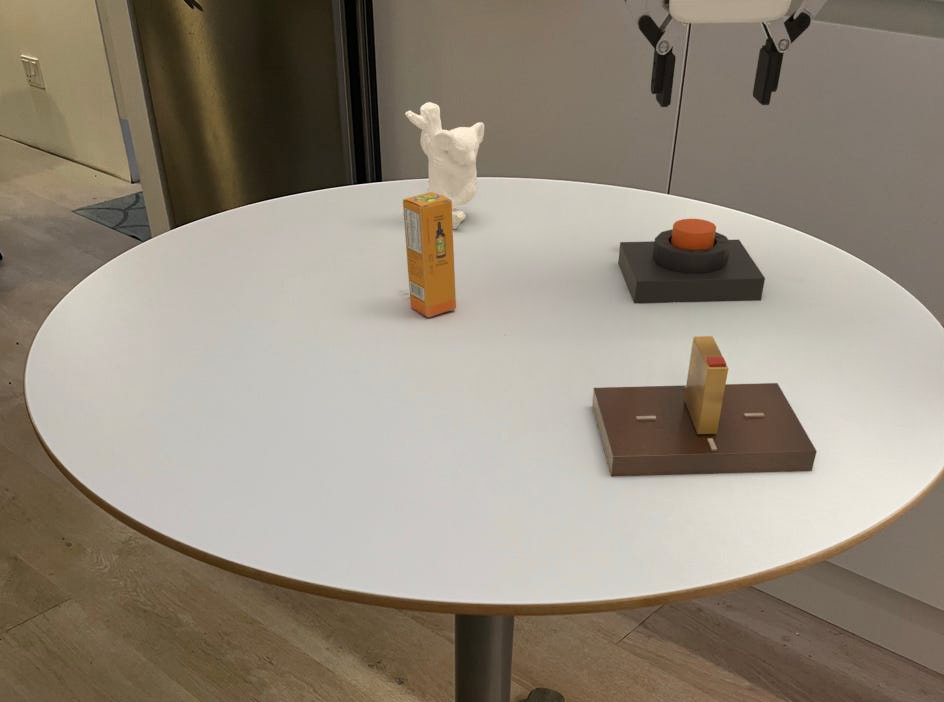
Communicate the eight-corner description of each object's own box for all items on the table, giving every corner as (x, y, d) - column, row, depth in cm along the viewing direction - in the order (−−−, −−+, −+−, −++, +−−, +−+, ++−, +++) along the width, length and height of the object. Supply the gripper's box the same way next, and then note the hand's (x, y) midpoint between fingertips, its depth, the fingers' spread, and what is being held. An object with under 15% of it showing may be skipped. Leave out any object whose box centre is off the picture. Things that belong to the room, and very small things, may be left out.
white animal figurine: (413, 236, 109) (408, 114, 101) (405, 215, 114) (400, 97, 106) (490, 230, 110) (491, 109, 102) (479, 209, 115) (479, 92, 107)
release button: (708, 236, 98) (711, 217, 97) (717, 251, 95) (720, 232, 94) (667, 237, 98) (669, 218, 97) (675, 252, 95) (677, 233, 94)
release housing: (735, 261, 103) (742, 220, 100) (760, 301, 95) (769, 258, 93) (618, 263, 102) (621, 223, 100) (634, 304, 95) (638, 261, 92)
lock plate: (770, 418, 79) (778, 380, 76) (807, 488, 71) (817, 449, 69) (590, 422, 78) (593, 385, 76) (609, 494, 71) (613, 454, 69)
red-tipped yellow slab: (683, 400, 74) (693, 332, 71) (702, 400, 74) (713, 332, 71) (697, 434, 71) (708, 365, 67) (717, 434, 71) (729, 364, 67)
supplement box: (437, 298, 96) (433, 188, 90) (456, 311, 94) (455, 199, 87) (407, 307, 95) (401, 196, 88) (426, 319, 93) (422, 206, 86)
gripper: (844, -157, 80) (798, 89, 91) (625, -154, 79) (606, 93, 91) (877, -150, 74) (823, 112, 86) (641, -147, 74) (619, 115, 85)
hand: (711, 101), depth 88 cm, fingers open, 8 cm apart
